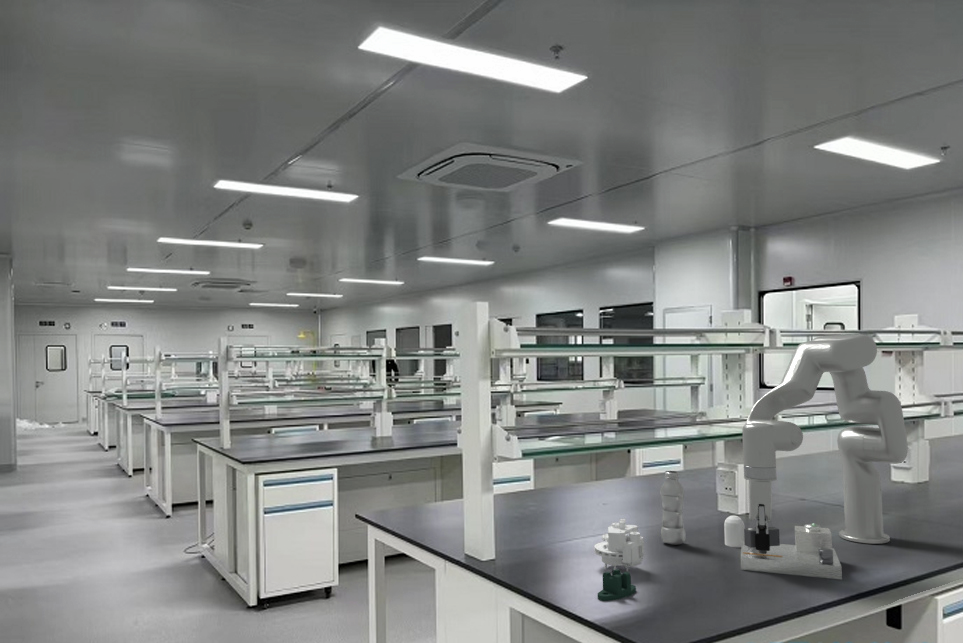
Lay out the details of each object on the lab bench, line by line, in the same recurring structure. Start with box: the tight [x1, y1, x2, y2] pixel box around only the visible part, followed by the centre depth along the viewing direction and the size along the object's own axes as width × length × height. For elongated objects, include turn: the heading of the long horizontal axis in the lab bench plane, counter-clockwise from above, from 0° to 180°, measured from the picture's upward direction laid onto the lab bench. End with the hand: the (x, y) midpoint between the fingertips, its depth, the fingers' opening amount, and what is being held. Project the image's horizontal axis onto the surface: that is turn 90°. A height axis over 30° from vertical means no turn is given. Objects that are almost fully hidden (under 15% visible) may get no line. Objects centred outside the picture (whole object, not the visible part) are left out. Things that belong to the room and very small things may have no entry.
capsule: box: [723, 515, 746, 548], centre depth 188 cm, size 5×5×8 cm
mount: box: [597, 568, 637, 602], centre depth 149 cm, size 11×4×5 cm, turn 126°
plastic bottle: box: [659, 470, 687, 546], centre depth 190 cm, size 6×7×20 cm
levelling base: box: [740, 522, 843, 580], centre depth 169 cm, size 16×22×10 cm
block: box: [744, 526, 781, 554], centre depth 168 cm, size 8×3×6 cm, turn 102°
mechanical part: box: [593, 518, 645, 572], centre depth 167 cm, size 11×12×12 cm
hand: (762, 546), depth 168 cm, fingers closed on block, 4 cm apart
